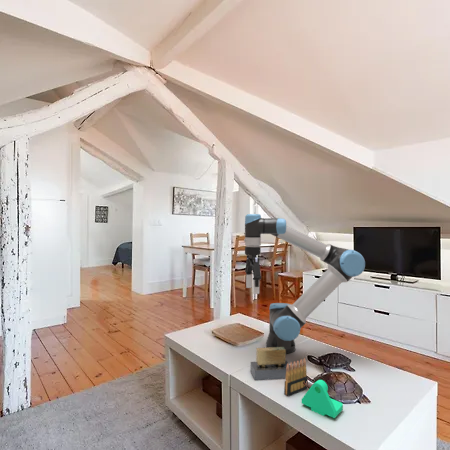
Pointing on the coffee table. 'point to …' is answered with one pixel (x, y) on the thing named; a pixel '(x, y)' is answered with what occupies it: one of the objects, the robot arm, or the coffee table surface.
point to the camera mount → (321, 400)
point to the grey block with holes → (268, 371)
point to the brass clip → (270, 356)
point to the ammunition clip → (295, 378)
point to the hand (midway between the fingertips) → (252, 290)
